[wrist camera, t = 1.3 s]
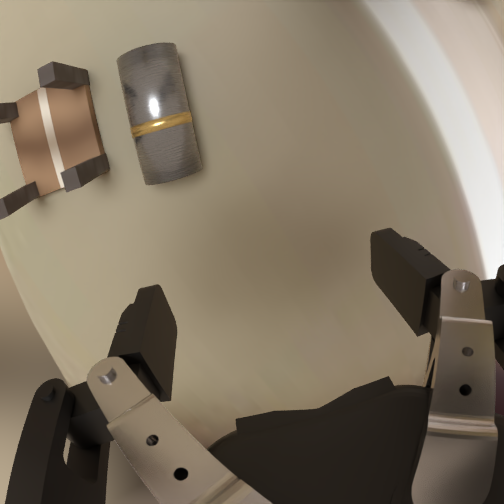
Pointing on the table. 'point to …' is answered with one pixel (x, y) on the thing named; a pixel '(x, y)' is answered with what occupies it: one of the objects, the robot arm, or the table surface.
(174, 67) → the grey cylinder
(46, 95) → the cylinder holder stand
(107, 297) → the table surface
